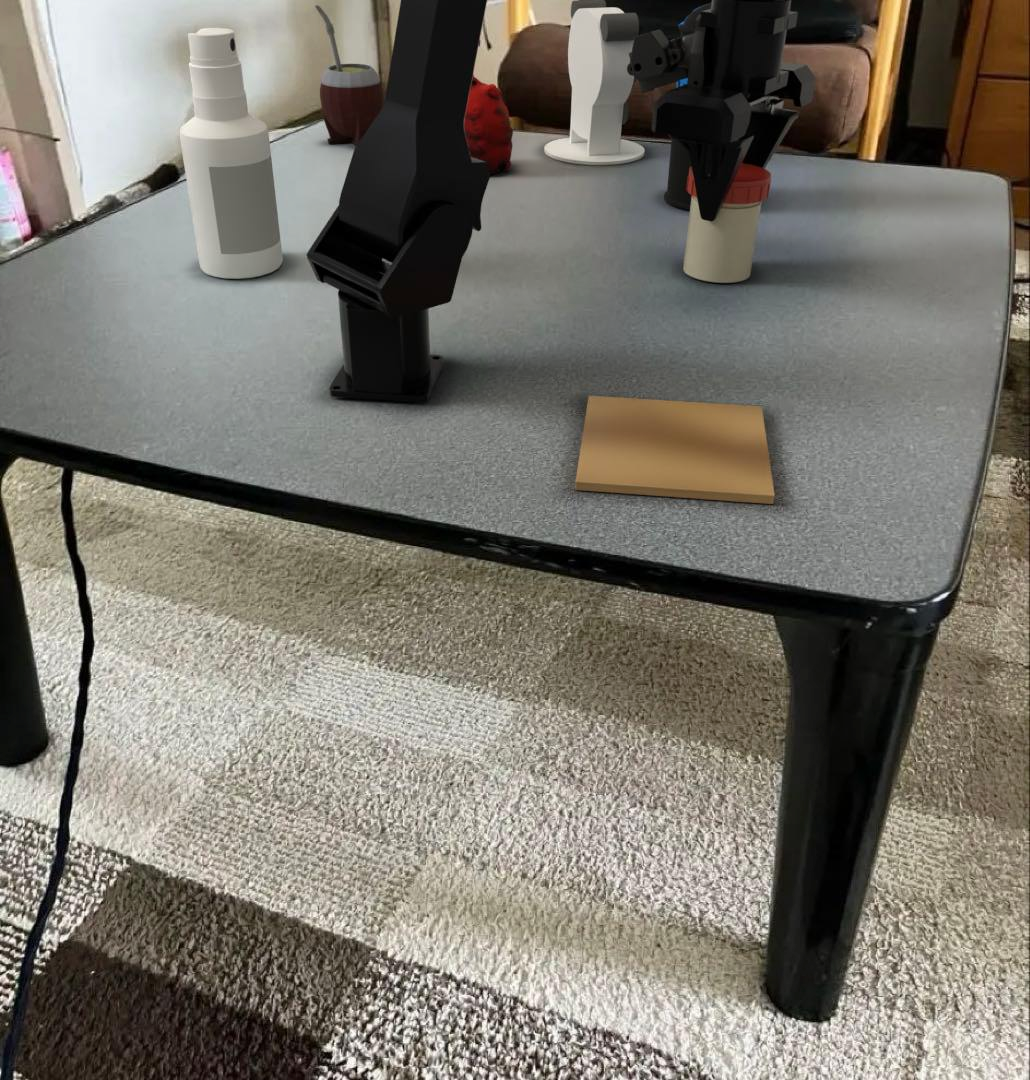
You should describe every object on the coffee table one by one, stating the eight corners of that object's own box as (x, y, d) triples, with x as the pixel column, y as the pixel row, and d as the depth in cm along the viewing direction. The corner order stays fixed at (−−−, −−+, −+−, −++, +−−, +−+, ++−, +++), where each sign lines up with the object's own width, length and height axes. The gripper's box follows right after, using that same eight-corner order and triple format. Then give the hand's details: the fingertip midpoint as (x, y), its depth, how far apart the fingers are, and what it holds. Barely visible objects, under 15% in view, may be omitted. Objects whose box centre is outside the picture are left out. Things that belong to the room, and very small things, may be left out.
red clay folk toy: (526, 169, 117) (529, 16, 108) (482, 182, 112) (481, 23, 104) (475, 156, 121) (473, 8, 112) (430, 169, 116) (425, 15, 108)
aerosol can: (759, 197, 109) (790, -26, 98) (727, 218, 103) (755, -17, 92) (685, 184, 112) (705, -33, 101) (649, 203, 106) (667, -24, 95)
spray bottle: (264, 283, 87) (234, 41, 77) (185, 276, 88) (146, 36, 78) (295, 255, 93) (271, 26, 83) (221, 249, 94) (188, 22, 84)
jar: (752, 285, 88) (766, 193, 84) (683, 280, 88) (694, 188, 84) (748, 263, 93) (761, 174, 89) (682, 258, 93) (693, 170, 89)
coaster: (773, 504, 60) (775, 495, 59) (574, 490, 61) (575, 481, 61) (760, 414, 69) (762, 406, 69) (588, 403, 70) (588, 395, 70)
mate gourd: (378, 132, 130) (369, -7, 121) (393, 148, 123) (385, 2, 115) (315, 136, 128) (303, -5, 119) (327, 153, 121) (315, 5, 113)
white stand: (662, 162, 119) (674, 12, 111) (564, 169, 117) (570, 16, 108) (622, 136, 129) (631, -3, 121) (531, 142, 126) (534, 0, 118)
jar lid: (752, 181, 90) (755, 160, 89) (780, 203, 85) (783, 181, 84) (677, 182, 89) (679, 161, 88) (700, 204, 84) (702, 182, 83)
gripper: (700, -23, 89) (680, 170, 98) (594, -2, 76) (581, 220, 85) (832, -11, 85) (798, 191, 93) (744, 13, 71) (714, 247, 80)
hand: (723, 210), depth 88 cm, fingers closed on jar lid, 6 cm apart
